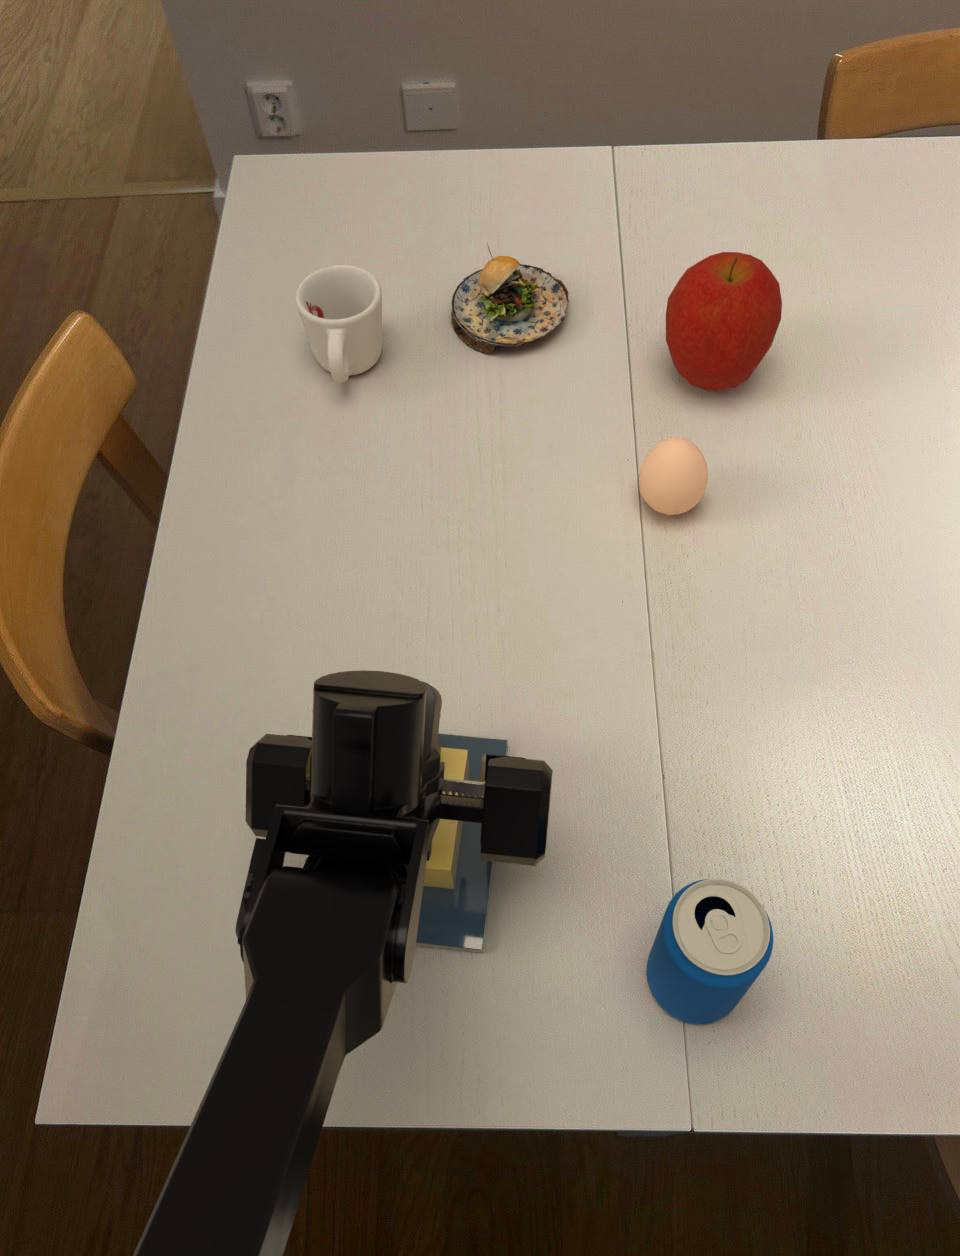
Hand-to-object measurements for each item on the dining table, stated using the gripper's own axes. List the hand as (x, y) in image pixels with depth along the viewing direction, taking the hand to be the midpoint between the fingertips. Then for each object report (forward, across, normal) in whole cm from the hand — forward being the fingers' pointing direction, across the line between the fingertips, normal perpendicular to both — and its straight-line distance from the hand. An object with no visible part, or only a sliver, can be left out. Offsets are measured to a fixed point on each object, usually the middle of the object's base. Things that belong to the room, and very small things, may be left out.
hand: (420, 754), depth 74 cm
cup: (+36, +14, -26) cm, 46 cm away
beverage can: (-3, -20, +13) cm, 24 cm away
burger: (+42, -1, -32) cm, 53 cm away
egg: (+26, -17, -16) cm, 35 cm away
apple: (+37, -21, -27) cm, 50 cm away
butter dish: (+3, 0, +7) cm, 8 cm away
